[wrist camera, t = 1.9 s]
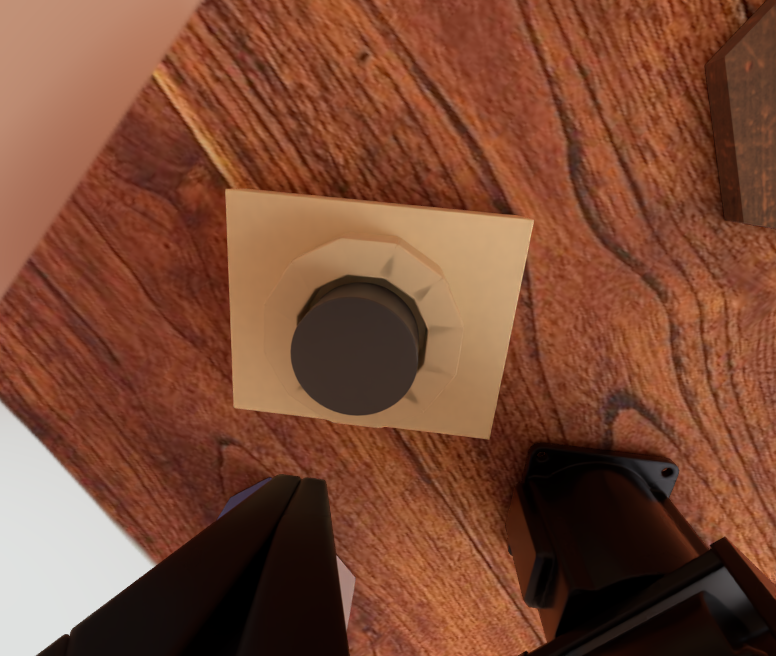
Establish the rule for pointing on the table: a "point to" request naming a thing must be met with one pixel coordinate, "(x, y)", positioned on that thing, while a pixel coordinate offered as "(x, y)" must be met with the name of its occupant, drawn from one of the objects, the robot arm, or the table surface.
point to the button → (356, 349)
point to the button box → (385, 268)
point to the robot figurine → (746, 119)
